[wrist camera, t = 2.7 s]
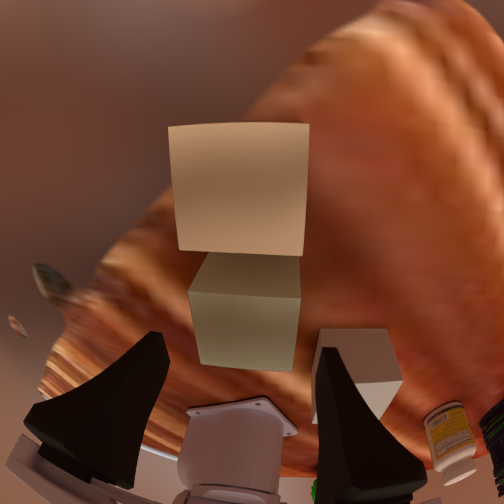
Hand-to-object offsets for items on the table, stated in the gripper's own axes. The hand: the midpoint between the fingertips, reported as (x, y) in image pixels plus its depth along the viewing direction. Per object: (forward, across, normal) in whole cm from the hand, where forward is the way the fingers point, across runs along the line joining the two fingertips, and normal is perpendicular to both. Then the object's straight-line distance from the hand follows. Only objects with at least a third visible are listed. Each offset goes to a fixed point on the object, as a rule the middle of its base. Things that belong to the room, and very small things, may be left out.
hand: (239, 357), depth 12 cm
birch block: (+6, 0, -7) cm, 9 cm away
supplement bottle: (+6, -23, +18) cm, 30 cm away
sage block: (+6, 0, 0) cm, 6 cm away
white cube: (+6, -7, +6) cm, 11 cm away
